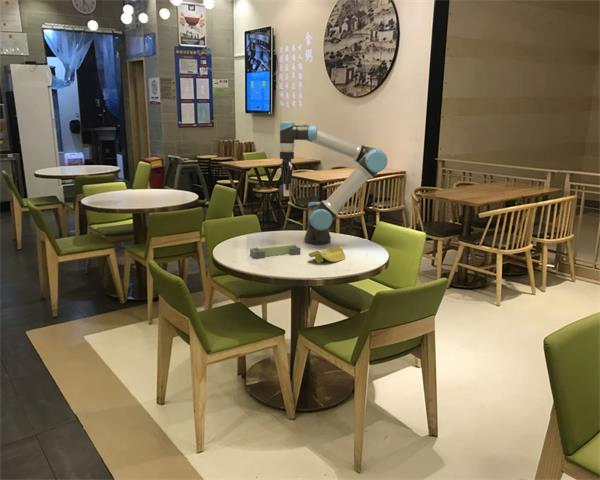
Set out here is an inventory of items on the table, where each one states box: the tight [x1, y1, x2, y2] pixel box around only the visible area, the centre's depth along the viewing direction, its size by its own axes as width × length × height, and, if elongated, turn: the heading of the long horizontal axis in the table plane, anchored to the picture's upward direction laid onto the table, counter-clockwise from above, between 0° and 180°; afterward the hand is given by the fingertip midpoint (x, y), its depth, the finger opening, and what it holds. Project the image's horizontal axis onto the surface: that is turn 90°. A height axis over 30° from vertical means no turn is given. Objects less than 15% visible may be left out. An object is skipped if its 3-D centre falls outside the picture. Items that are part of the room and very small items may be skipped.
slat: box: [255, 243, 295, 258], centre depth 266 cm, size 20×4×5 cm, turn 117°
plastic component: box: [307, 245, 346, 264], centre depth 258 cm, size 20×7×10 cm
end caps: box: [249, 244, 301, 260], centre depth 267 cm, size 25×7×4 cm, turn 113°
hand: (286, 195), depth 276 cm, fingers closed
